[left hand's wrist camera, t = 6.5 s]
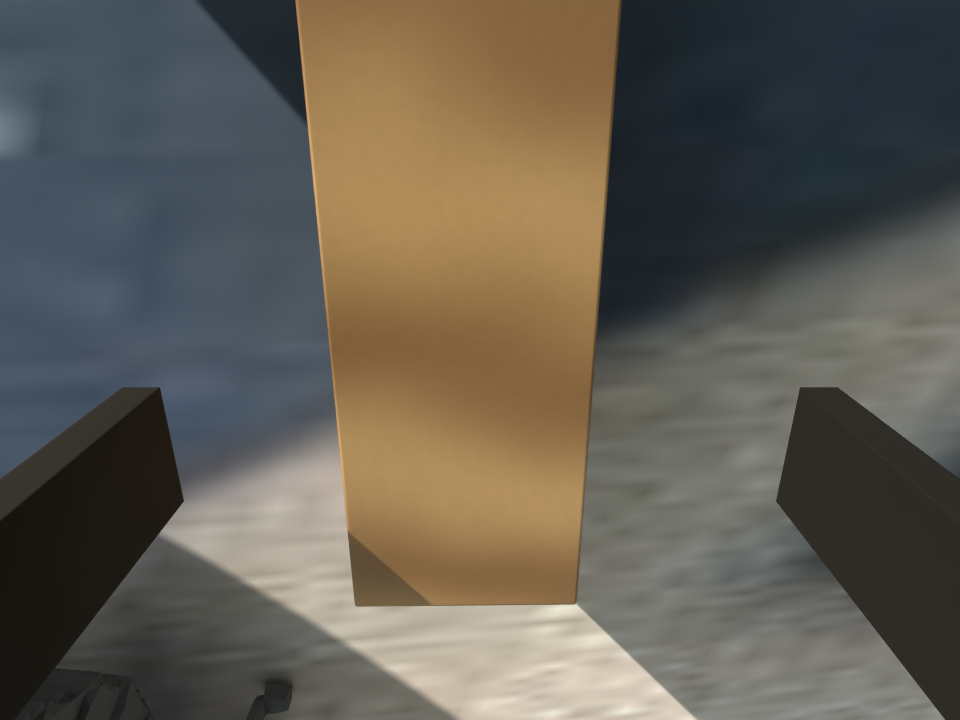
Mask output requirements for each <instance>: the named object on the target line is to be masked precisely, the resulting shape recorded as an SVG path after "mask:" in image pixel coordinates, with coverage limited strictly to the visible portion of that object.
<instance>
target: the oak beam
mask: <svg viewBox="0 0 960 720" xmlns="http://www.w3.org/2000/svg"><path fill="white" fill-rule="evenodd" d="M295 1H296V11H297V21H298V31H299V41H300V52H301V62H302V72H303V82H304V92H305V102H306V113H307V123H308V133H309V143H310V153H311V163H312V174H313V184H314V194H315V204H316V214H317V224H318V234H319V245H320V255H321V265H322V275H323V285H324V295H325V306H326V316H327V326H328V336H329V346H330V356H331V367H332V377H333V387H334V397H335V407H336V417H337V427H338V438H339V448H340V458H341V468H342V478H343V488H344V499H345V509H346V519H347V529H348V539H349V549H350V560H351V570H352V580H353V590H354V600H355V605H356V606H358V607H361V606H461V605H560V604H576V601H577V589H578V576H579V562H580V549H581V536H582V523H583V509H584V496H585V483H586V470H587V456H588V443H589V430H590V417H591V404H592V390H593V377H594V364H595V351H596V337H597V324H598V311H599V298H600V284H601V271H602V258H603V245H604V232H605V218H606V205H607V192H608V179H609V165H610V152H611V139H612V126H613V112H614V99H615V86H616V73H617V60H618V46H619V33H620V20H621V7H622V0H295Z"/></svg>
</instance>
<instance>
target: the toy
mask: <svg viewBox="0 0 960 720" xmlns="http://www.w3.org/2000/svg"><path fill="white" fill-rule="evenodd" d="M291 699H292V685H285V684H274V683H266V688H265V694H264V695H258V696H257V697H256V699H255V700H254V702H253V704H252V707H251V709H250V712H249V715H248V717H247V720H263V719H264V718H265V716H266V715H267V714H272V713H279V712H283V711H287V710H288V709H289V706H290V702H291ZM15 720H154V718H153V716H152V714H151V712H150V710H149V708H148V706H147V704H146V701H145V699H142V698H141V696H140V690H139V689H136V688H135V682H134V680H133V679H132V678H131V677H129V676H119V675H109V674H101V673H100V672H91V671H79V670H68V669H56V668H54V670H53V671H52V672H51V673H50V675H49V676H48V677H47V679H46V680H45V681H44V682H43V684H42V685H41V686H40V688H39V689H38V690H37V692H36V693H35V694H34V695H33V697H32V698H31V699H30V701H29V702H28V703H27V704H26V706H25V707H24V708H23V710H22V711H21V712H20V713H19V715H18V716H17V717H16V719H15Z"/></svg>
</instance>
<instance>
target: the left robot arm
mask: <svg viewBox="0 0 960 720" xmlns="http://www.w3.org/2000/svg"><path fill="white" fill-rule="evenodd" d="M183 502H184V499H183V495H182V490H181V485H180V481H179V476H178V471H177V466H176V462H175V457H174V452H173V447H172V443H171V438H170V433H169V428H168V424H167V419H166V414H165V410H164V405H163V400H162V395H161V391H160V388H121V389H120V390H119V391H117V392H116V393H115V394H113V395H112V396H111V397H109V398H108V399H107V400H105V401H104V402H103V403H101V404H100V405H99V406H97V407H96V408H95V409H93V410H92V411H91V412H89V413H88V414H87V415H85V416H84V417H83V418H81V419H80V420H79V421H77V422H76V423H75V424H73V425H72V426H71V427H69V428H68V429H67V430H65V431H64V432H63V433H61V434H60V435H59V436H57V437H56V438H55V439H53V440H52V441H51V442H49V443H48V444H47V445H45V446H44V447H43V448H41V449H40V450H39V451H37V452H36V453H35V454H33V455H32V456H31V457H29V458H28V459H27V460H25V461H24V462H23V463H21V464H20V465H19V466H17V467H16V468H15V469H13V470H12V471H11V472H10V473H8V474H7V475H6V476H4V477H3V478H2V479H0V720H15V719H16V717H17V716H18V715H19V713H20V712H21V711H22V710H23V708H24V707H25V706H26V704H27V703H28V702H29V701H30V699H31V698H32V697H33V695H34V694H35V693H36V692H37V690H38V689H39V688H40V686H41V685H42V684H43V682H44V681H45V680H46V679H47V677H48V676H49V675H50V673H51V672H52V671H53V670H54V668H55V667H56V666H57V664H58V663H59V662H60V661H61V659H62V658H63V657H64V655H65V654H66V653H67V651H68V650H69V649H70V648H71V646H72V645H73V644H74V642H75V641H76V640H77V639H78V637H79V636H80V635H81V633H82V632H83V631H84V629H85V628H86V627H87V626H88V624H89V623H90V622H91V620H92V619H93V618H94V617H95V615H96V614H97V613H98V611H99V610H100V609H101V608H102V606H103V605H104V604H105V602H106V601H107V600H108V598H109V597H110V596H111V595H112V593H113V592H114V591H115V589H116V588H117V587H118V586H119V584H120V583H121V582H122V580H123V579H124V578H125V577H126V575H127V574H128V573H129V571H130V570H131V569H132V567H133V566H134V565H135V564H136V562H137V561H138V560H139V558H140V557H141V556H142V555H143V553H144V552H145V551H146V549H147V548H148V547H149V546H150V544H151V543H152V542H153V540H154V539H155V538H156V536H157V535H158V534H159V533H160V531H161V530H162V529H163V527H164V526H165V525H166V524H167V522H168V521H169V520H170V518H171V517H172V516H173V515H174V513H175V512H176V511H177V509H178V508H179V507H180V505H181V504H182V503H183ZM776 502H777V503H778V504H779V505H780V507H781V508H782V509H783V511H784V512H785V513H786V515H787V516H788V517H789V518H790V520H791V521H792V522H793V524H794V525H795V526H796V527H797V529H798V530H799V531H800V533H801V534H802V535H803V536H804V538H805V539H806V540H807V542H808V543H809V544H810V546H811V547H812V548H813V549H814V551H815V552H816V553H817V555H818V556H819V557H820V558H821V560H822V561H823V562H824V564H825V565H826V566H827V567H828V569H829V570H830V571H831V573H832V574H833V575H834V577H835V578H836V579H837V580H838V582H839V583H840V584H841V586H842V587H843V588H844V589H845V591H846V592H847V593H848V595H849V596H850V597H851V598H852V600H853V601H854V602H855V604H856V605H857V606H858V608H859V609H860V610H861V611H862V613H863V614H864V615H865V617H866V618H867V619H868V620H869V622H870V623H871V624H872V626H873V627H874V628H875V629H876V631H877V632H878V633H879V635H880V636H881V637H882V639H883V640H884V641H885V642H886V644H887V645H888V646H889V648H890V649H891V650H892V651H893V653H894V654H895V655H896V657H897V658H898V659H899V661H900V662H901V663H902V664H903V666H904V667H905V668H906V670H907V671H908V672H909V673H910V675H911V676H912V677H913V679H914V680H915V681H916V682H917V684H918V685H919V686H920V688H921V689H922V690H923V692H924V693H925V694H926V695H927V697H928V698H929V699H930V701H931V702H932V703H933V704H934V706H935V707H936V708H937V710H938V711H939V712H940V713H941V715H942V716H943V717H944V719H945V720H960V479H958V478H957V477H956V476H954V475H953V474H952V473H950V472H949V471H948V470H947V469H945V468H944V467H943V466H941V465H940V464H939V463H937V462H936V461H935V460H933V459H932V458H931V457H929V456H928V455H927V454H925V453H924V452H923V451H921V450H920V449H919V448H917V447H916V446H915V445H913V444H912V443H911V442H909V441H908V440H907V439H905V438H904V437H903V436H901V435H900V434H899V433H897V432H896V431H895V430H893V429H892V428H891V427H889V426H888V425H887V424H885V423H884V422H883V421H881V420H880V419H879V418H877V417H876V416H875V415H873V414H872V413H871V412H869V411H868V410H867V409H865V408H864V407H863V406H861V405H860V404H859V403H857V402H856V401H855V400H853V399H852V398H851V397H849V396H848V395H847V394H845V393H844V392H843V391H841V390H840V389H839V388H800V391H799V395H798V400H797V405H796V410H795V414H794V419H793V424H792V428H791V433H790V438H789V443H788V447H787V452H786V457H785V462H784V466H783V471H782V476H781V481H780V485H779V490H778V495H777V499H776Z"/></svg>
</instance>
